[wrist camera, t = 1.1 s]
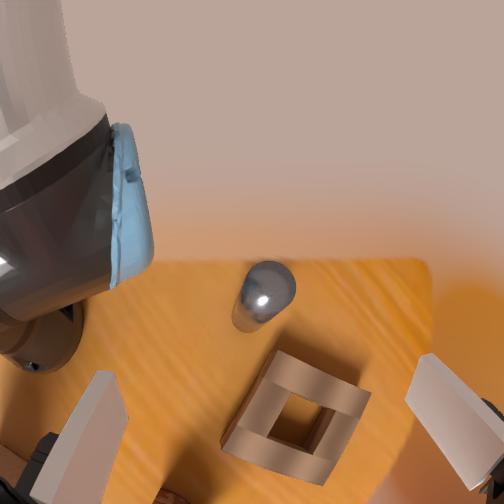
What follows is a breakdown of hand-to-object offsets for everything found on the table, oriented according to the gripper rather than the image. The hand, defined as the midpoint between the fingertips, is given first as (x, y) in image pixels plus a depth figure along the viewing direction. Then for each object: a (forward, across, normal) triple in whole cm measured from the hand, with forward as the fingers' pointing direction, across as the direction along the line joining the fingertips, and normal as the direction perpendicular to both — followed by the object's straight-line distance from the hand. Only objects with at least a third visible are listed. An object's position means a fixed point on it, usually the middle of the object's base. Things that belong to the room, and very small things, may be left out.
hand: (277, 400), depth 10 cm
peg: (+23, 0, -7) cm, 24 cm away
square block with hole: (+16, +5, -18) cm, 25 cm away
